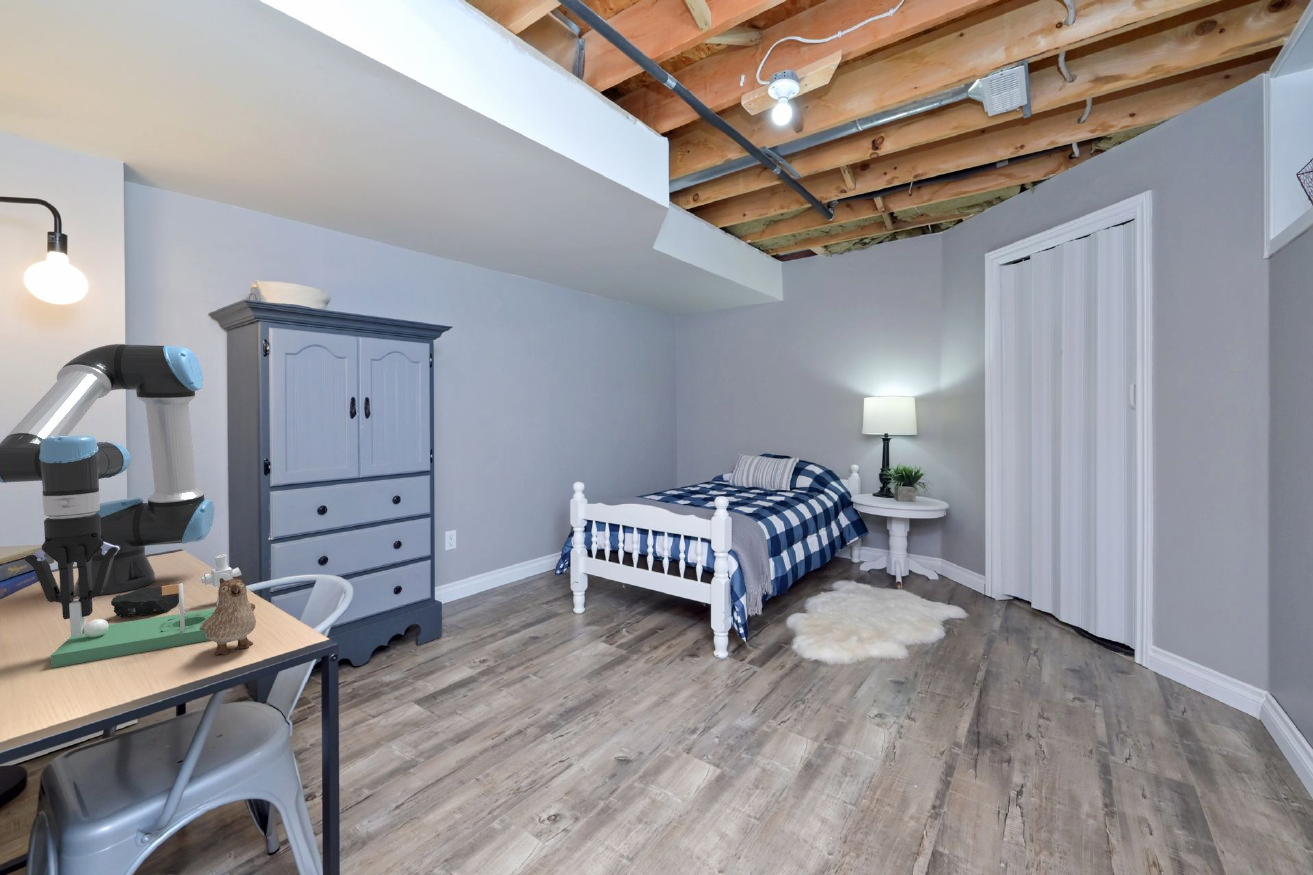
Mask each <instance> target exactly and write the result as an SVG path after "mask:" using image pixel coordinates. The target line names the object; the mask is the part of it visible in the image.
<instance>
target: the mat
mask: <svg viewBox="0 0 1313 875" xmlns="http://www.w3.org/2000/svg"><path fill="white" fill-rule="evenodd" d="M161 587H162V595H169V594H177V593H179V603H178V607H179V611H178V612H179V613H176V614H170V615H164V616H163V615H162V616H155V617H149V618H144V619H137V620H130V621H124V622H123V621H122V622H117V623H108V624H109V628H108V630H107V631H106V633H104V634H103V635H101V636H99V637H88V636H86V635H85V634H84V633H83V634H82V635H78V636H71V635H70V637H69V638H68V639H67V640H65V641H64V642H63V643H62V644H61V645H60V646H59V647H58V648H56V650H54V651H53V652H52V654H50V668H51V669H54V668H59V667H65V666H71V665H77V664H83V663H89V662H95V661H100V660H105V659H111V658H116V657H123V656H128V655H135V654H139V653H145V652H151V651H152V652H153V651H156V650H163V649H169V648H174V647H178V646H185V645H186V646H187V645H190V644H196V643H201V642H207V641H210V640H209V639H207V637H206V635H205V630H199V629H200V627H201V626H202V624H203V623H204V622H205V621H206V620H207V619H209V618H210V617H211V615H212V614H213V613H214V611H215V609H216V608H217V607H215V608H207V609H202V610H196V611H190V612H189V611H188V612H185V602H184V601H185V600H184V583H175V584H168V585H161Z"/></svg>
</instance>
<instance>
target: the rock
mask: <svg viewBox="0 0 1313 875" xmlns="http://www.w3.org/2000/svg"><path fill="white" fill-rule="evenodd" d="M110 605H111V606H112V607H113V612H114V613H115V615H116V617H120V618H124V617H125V618H126V617H135V616H151V615H158V614H163V613H168V612H170V611H172V608H176V607H177V606H179V593H177V594H169V595H162V586H155V587H151V586H144V587H140V588H137V589H134V590H133V591H131V592H129V593H128V592H127V593H125V594H117V595H115V597H112V600H111V601H110Z"/></svg>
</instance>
